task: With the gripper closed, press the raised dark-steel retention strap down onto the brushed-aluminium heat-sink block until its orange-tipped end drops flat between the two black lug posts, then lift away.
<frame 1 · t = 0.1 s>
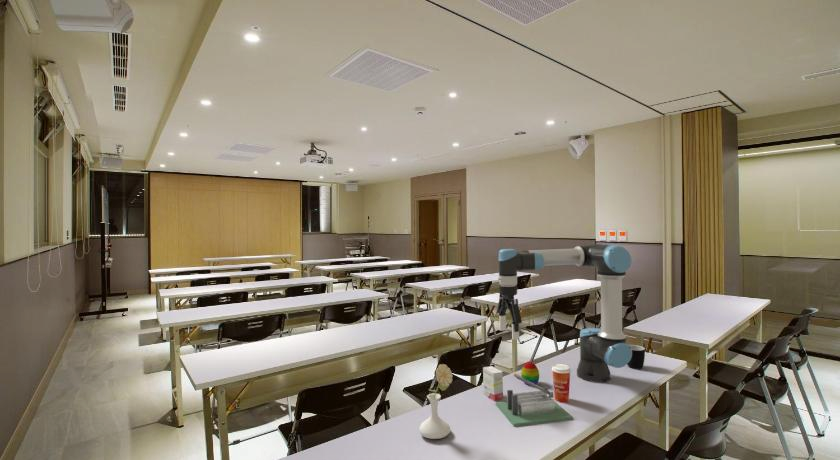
hand: (509, 334, 170), 28 cm above the table, fingers open, 13 cm apart
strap: (532, 384, 159), point 11 cm above the table, hinge at 30.0°
paper cup: (561, 399, 169), on the table
lug posts: (512, 414, 157), resting on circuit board
flower in vase: (436, 433, 144), on the table
ink box: (493, 396, 174), on the table
mug: (632, 366, 205), on the table
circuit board: (532, 411, 159), on the table
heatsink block: (533, 400, 159), on the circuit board, point 4 cm above the table
decorative egg: (530, 383, 187), on the table
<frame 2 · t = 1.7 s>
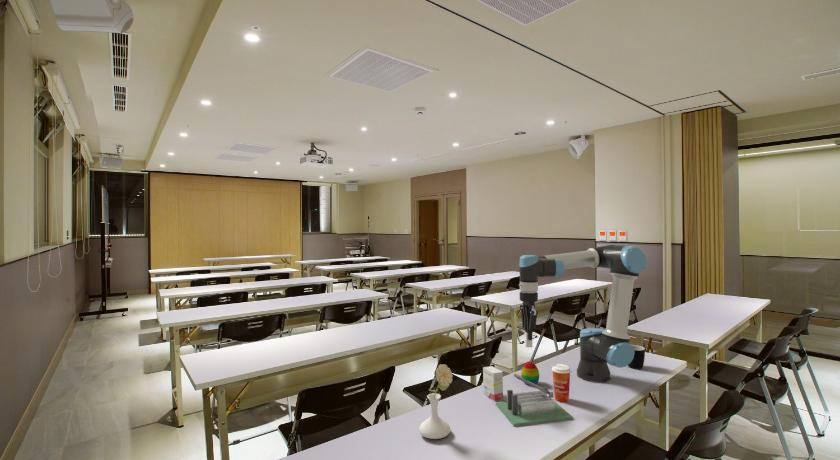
hand: (528, 346, 169), 23 cm above the table, fingers closed
nothing on the table moved.
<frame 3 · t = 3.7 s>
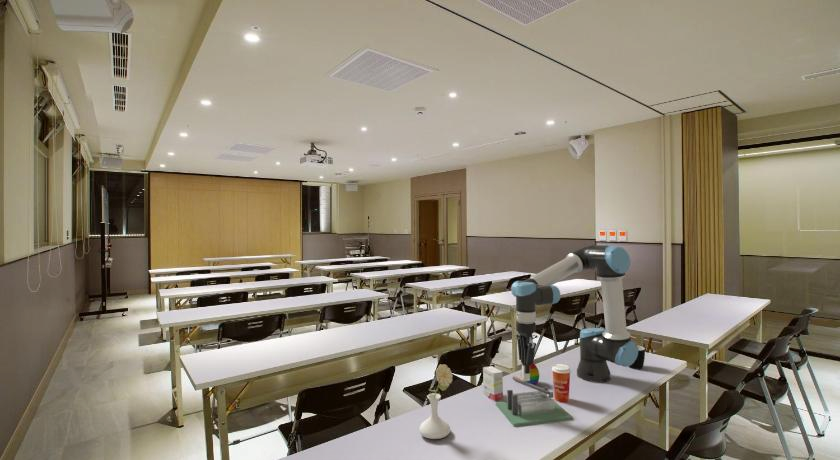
hand: (525, 380, 158), 13 cm above the table, fingers closed
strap: (532, 385, 159), point 10 cm above the table, hinge at 25.2°, touching gripper
everything else where it was.
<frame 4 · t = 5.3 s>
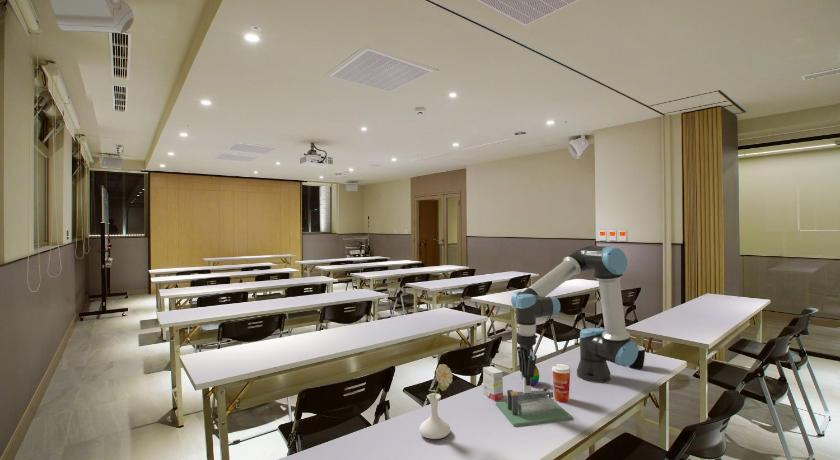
hand: (526, 392, 158), 8 cm above the table, fingers closed
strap: (530, 393, 158), point 7 cm above the table, hinge at 2.3°, touching gripper
everything else where it was.
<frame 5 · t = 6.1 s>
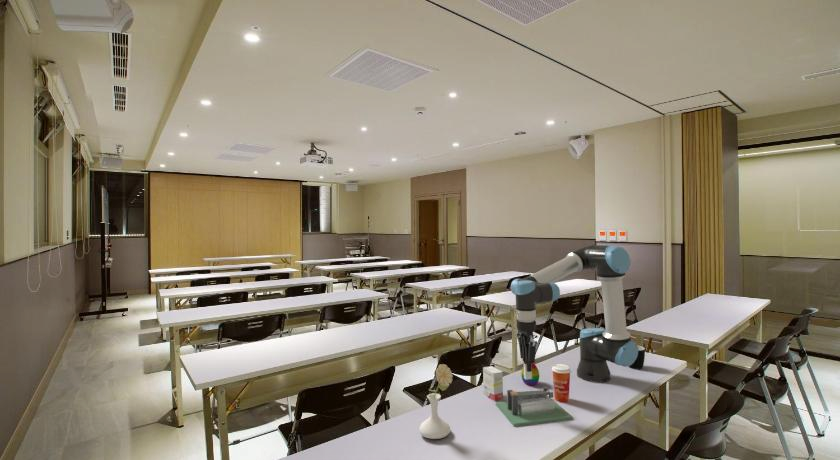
hand: (528, 378, 158), 14 cm above the table, fingers closed
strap: (530, 393, 158), point 7 cm above the table, hinge at 2.3°
everything else where it was.
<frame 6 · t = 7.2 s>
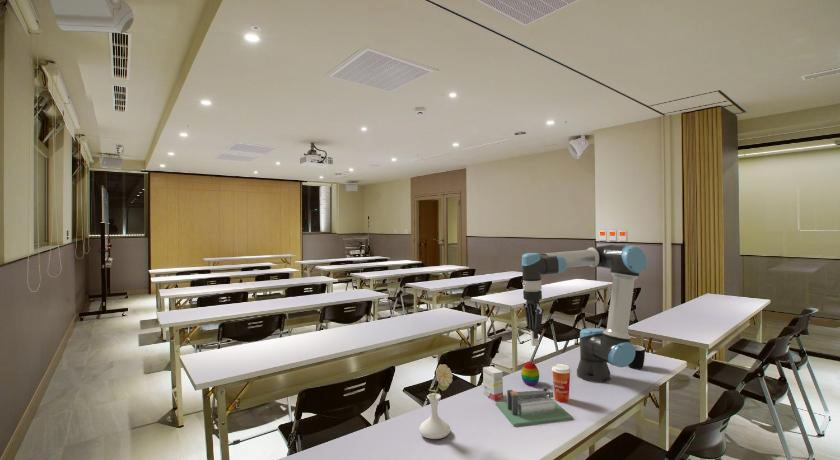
hand: (534, 345, 168), 24 cm above the table, fingers closed
nothing on the table moved.
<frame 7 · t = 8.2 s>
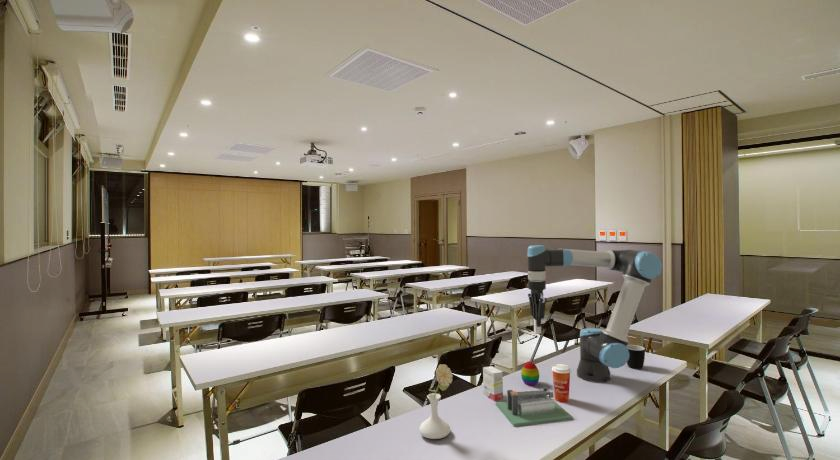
hand: (537, 333, 176), 26 cm above the table, fingers closed
nothing on the table moved.
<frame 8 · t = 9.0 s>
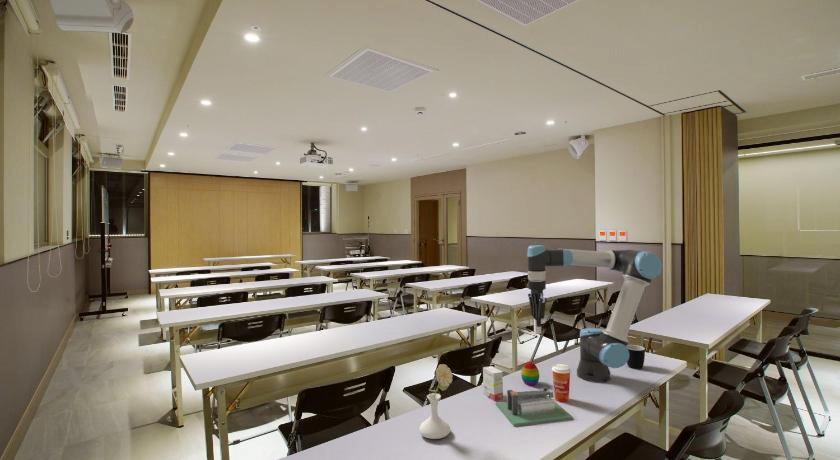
hand: (537, 333, 176), 26 cm above the table, fingers closed
nothing on the table moved.
at the end: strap at +2° (first picture: +30°) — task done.
